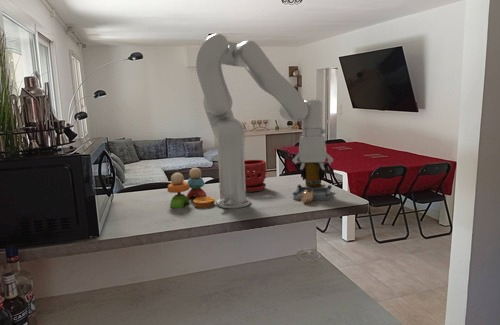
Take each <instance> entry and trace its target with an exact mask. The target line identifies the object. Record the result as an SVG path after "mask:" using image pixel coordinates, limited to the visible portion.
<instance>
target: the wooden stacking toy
mask: <svg viewBox="0 0 500 325" xmlns="http://www.w3.org/2000/svg"><path fill="white" fill-rule="evenodd" d="M188 173H189V177H190V178H188V179H187V181H185V176H184V175H183V174H182V173H181V172H175V173H173V174H172V175H171V177H170V182H171V183H169V184H168V185H167V192H168V193H172V194H173V193H176V194H174V196H173V197H172V198H171V200H170V203H169V205H170V206H169V208H170V209H183V208H184V207H185V206H184V205H185V204H186V205H187V204H188V205H190V199H191V198H193V197H194V199H192V200H193V204H194V207H195V208H200V209H202V208H210V207H213V206H214V205H215V201H216V199H215V198H214V197H212V196H208V195H207V193H206V191H205V190H204V189H202V188H203V187H204V186H205V181H204V180H203V178H202V170H201V169H200V168H198V167H192V168H191V169H189V172H188ZM186 191H188V192H187V194H186V195H185V194H184V193H183V192H186Z"/></svg>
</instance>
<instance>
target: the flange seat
mask: <svg viewBox="0 0 500 325" xmlns="http://www.w3.org/2000/svg"><path fill="white" fill-rule="evenodd" d="M300 185H301V184H297V185H296V189H295V191H293V192H292V195H293V200H297V201H299V200H301V202H302V203H303V204H306V205H307V204H308V205H309V204H310V203H312V201H326V202H327V201H328V202H329V201H330V198H331V193H332V185H331V184H327V185H328V186H325V187H323V188H318V189H317V188H311V187H305V186H300Z"/></svg>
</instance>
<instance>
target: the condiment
mask: <svg viewBox="0 0 500 325" xmlns="http://www.w3.org/2000/svg"><path fill="white" fill-rule="evenodd" d="M304 167H305V180H304V181H305V184H300V186H301V187H311V188H317V189H318V188H323V187H327V186H328V185H329V184H325V183H322V180H320V170H321V166H320V164H319V163H305V166H304Z"/></svg>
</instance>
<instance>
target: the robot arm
mask: <svg viewBox="0 0 500 325" xmlns="http://www.w3.org/2000/svg"><path fill="white" fill-rule="evenodd" d="M222 65H225V66H232V67H239V68H244V69H245V70H246V71H247V73H248V74H249V76H251V78H252V79H253V81H254V82H255V83H256V84H257V85H258V87H259V88H260V89H262V90H263V91H264V92H265V93H267V94H269V95H271V96H272V97H273V98H275V100H276V101H277V102H278V103H279V104H280V106H279V110H278V111H279V114H280V116H281V117H282V118H283V119H284V120H286V121H292V122H301V135H300V138H299V145H298V153H297V154H296V155H295V156H294V157H293V158H292V160H291V161H292V163H293V164H295V165H296V166H297V168H299V169H300V177H301V178H302V181H305V163H319V164H320V166H321V170H320V180H321V181H323V180H324V178H325V175H326V172H325V170H326V169H327V168H328V167H329V165H331V164H332V163H334V158H333V157H332V156H331V155H330V154H329V153H327V143H326V138H325V135H324V134H326V133H327V129H324V128H323V104H322V101H321V100H320V99H304V98H303V96H302V95H301V94H300V93H299V91H298V90H297V89H296V88H295V86H293V84H291V82H289V81H288V80H287V79H286V78H285V77H284V75H282V74H281V73H280V72H279V71H278V70H277V68H276V67H275V65H274V64H273V63H272V61H270V59H269V58H268V56H267V55H266V54H265V52H264V51H263V50H262V48H261V46H259V44H258V43H257V42H256V41H254V40H244V41H242V42H235V41H229V40H228V39H227V37H226V36H225V35H223V34H221V33H213V34H211V35H209V36H208V37H207V38H206V39H205V40H204V42H202V44H201V46H200V47H199V49H198V52H197V56H196V61H195V68H196V75H197V77H198V78H197V79H198V81H199V83H200V87H201V90H202V93H203V95H204V97H203V102H202V103H203V108H204V111H205V114H206V116H207V119H208V122H209V125H210V128H211V130H212V132H213V135H214V136H215V138H217V161H218V162H217V163H218V178H219V179H218V181H219V199H217V200H215V201H216V203H215V204H216V206H217V207H218V208H223V209H237V208H238V209H239V208H240V209H241V208H244V207H247V206H249V205H250V204H251V199H250V198H249V197H247V191H246V183H245V161H244V160H245V141H246V140H245V138H246V135H245V134H246V131H245V128H244V125H243V123H242V122H241V121H240V120H239V119H237V118H235V116H234V113H233V110H232V108H233V99H232V96H231V93H230V91H229V89H228V85H227V82H226V79H225V77H224V73H223V70H222V68H223V67H222ZM326 160H327V161H326ZM325 162H326V163H325Z"/></svg>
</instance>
